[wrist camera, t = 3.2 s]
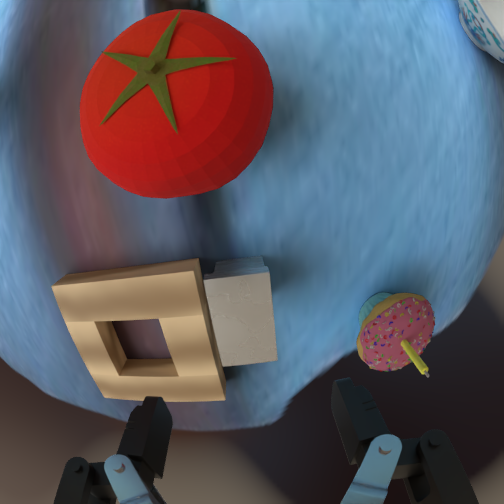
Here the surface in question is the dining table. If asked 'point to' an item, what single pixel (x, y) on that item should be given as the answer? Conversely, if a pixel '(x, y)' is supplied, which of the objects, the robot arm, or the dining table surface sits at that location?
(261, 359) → the grey stepped wood block
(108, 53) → the tomato
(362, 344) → the cupcake
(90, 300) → the well block
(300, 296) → the dining table surface
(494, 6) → the chinaware
